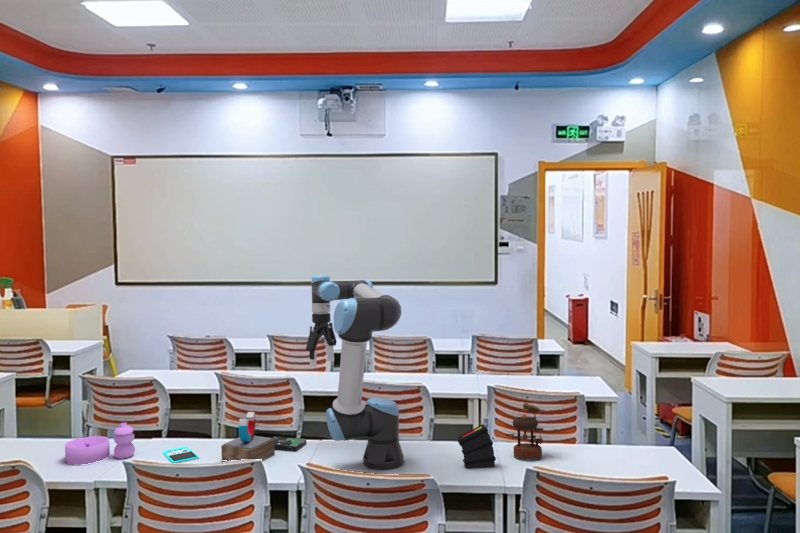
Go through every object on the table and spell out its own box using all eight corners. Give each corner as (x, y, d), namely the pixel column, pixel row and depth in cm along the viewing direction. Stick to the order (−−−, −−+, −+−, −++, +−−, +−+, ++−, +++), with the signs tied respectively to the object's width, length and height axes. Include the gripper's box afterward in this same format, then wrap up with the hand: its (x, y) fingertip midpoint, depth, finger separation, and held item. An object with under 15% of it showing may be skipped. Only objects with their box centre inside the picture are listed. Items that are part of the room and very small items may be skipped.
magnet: (246, 446, 234) (245, 419, 234) (238, 446, 234) (238, 419, 234) (256, 436, 246) (255, 411, 246) (249, 436, 246) (248, 411, 246)
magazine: (504, 462, 227) (486, 426, 226) (471, 479, 226) (453, 443, 225) (501, 459, 231) (483, 423, 230) (469, 475, 230) (451, 440, 229)
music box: (541, 451, 244) (541, 400, 243) (549, 461, 233) (549, 407, 232) (502, 452, 243) (502, 401, 242) (508, 462, 232) (508, 408, 231)
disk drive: (262, 451, 251) (296, 453, 247) (261, 444, 251) (296, 446, 247) (273, 442, 261) (307, 444, 257) (273, 436, 261) (306, 438, 257)
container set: (58, 466, 234) (57, 431, 234) (75, 453, 250) (74, 420, 249) (128, 463, 237) (127, 428, 236) (140, 450, 252) (139, 417, 252)
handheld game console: (187, 449, 254) (187, 445, 254) (199, 460, 241) (199, 456, 241) (161, 454, 248) (161, 450, 248) (173, 465, 235) (172, 462, 235)
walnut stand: (274, 454, 244) (274, 438, 244) (252, 466, 231) (251, 448, 231) (245, 450, 250) (245, 433, 250) (221, 461, 237) (221, 444, 237)
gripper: (312, 316, 247) (313, 370, 248) (344, 310, 270) (344, 359, 270) (296, 315, 250) (297, 368, 251) (328, 309, 273) (329, 358, 274)
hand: (322, 364), depth 261 cm, fingers open, 13 cm apart
